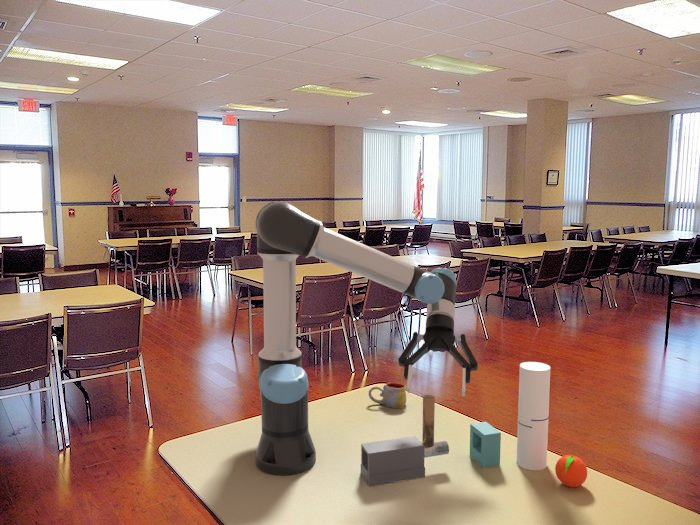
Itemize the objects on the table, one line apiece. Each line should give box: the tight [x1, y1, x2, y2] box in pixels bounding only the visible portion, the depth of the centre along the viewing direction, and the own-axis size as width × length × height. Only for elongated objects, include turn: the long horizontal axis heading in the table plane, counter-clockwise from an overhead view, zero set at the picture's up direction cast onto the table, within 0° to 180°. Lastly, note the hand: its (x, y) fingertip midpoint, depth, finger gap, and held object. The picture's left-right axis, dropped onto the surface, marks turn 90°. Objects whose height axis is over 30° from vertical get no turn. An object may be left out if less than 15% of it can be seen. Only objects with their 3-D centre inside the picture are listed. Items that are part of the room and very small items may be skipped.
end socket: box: [469, 421, 502, 469], centre depth 144 cm, size 7×4×8 cm, turn 17°
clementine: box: [554, 454, 588, 488], centre depth 132 cm, size 8×7×7 cm
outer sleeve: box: [360, 435, 426, 487], centre depth 137 cm, size 6×14×8 cm, turn 107°
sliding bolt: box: [421, 394, 450, 459], centre depth 138 cm, size 3×18×15 cm, turn 107°
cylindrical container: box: [516, 361, 551, 472], centre depth 142 cm, size 7×7×25 cm
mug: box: [368, 382, 407, 409], centre depth 183 cm, size 12×7×7 cm, turn 81°
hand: (435, 392), depth 144 cm, fingers open, 13 cm apart
